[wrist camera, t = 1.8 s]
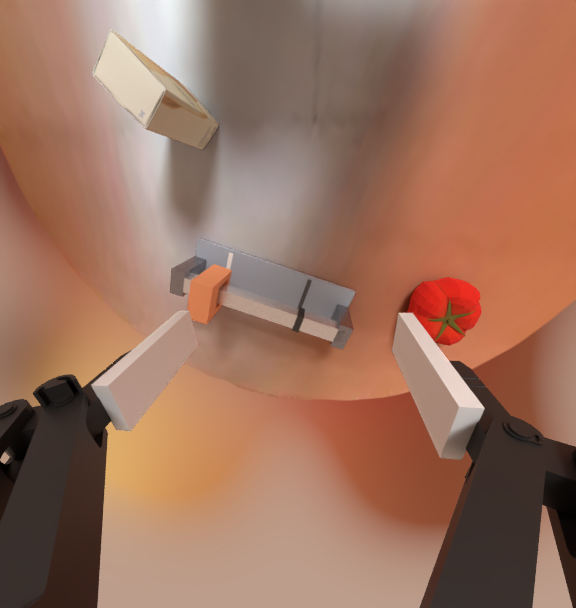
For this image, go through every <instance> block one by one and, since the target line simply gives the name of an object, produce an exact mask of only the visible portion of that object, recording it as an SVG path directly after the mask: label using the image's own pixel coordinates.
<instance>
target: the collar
mask: <svg viewBox="0 0 576 608" xmlns="http://www.w3.org/2000/svg"><path fill="white" fill-rule="evenodd" d="M231 273H232V270H230V269H227V268H224V267H221V266H218V265H215V264H214V265H212V266H211V267H209V268H208V269H207V270H205V271H204V272H202V273H201V274H199V275H198V276H197V277H195V278H194V279H192V280H191V284H190V292H189V301H188V309H187V311H189V312H190V315H191V319H192V320H195V321H198V322H201V323H204V324H208V322H209V321H210V320H211V319H212V318H213V316H214V315H215V314H216V313H217V312H218V310H219V309H220V308H221V307H222V306H223V305H220V304H217V303H216V302H217V297H218V291H219V287H220V286H221V285H222V284H223V283H224V284H227V285H229V283H230V278H231Z"/></svg>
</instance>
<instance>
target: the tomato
mask: <svg viewBox="0 0 576 608" xmlns="http://www.w3.org/2000/svg"><path fill="white" fill-rule="evenodd" d="M479 300H480V293H479V291H478V290H477V289H476V288H475V287H474V286H472V285H471V284H469V283H468V282H465V281H463V280H458V279H454V278H449V277H448V278H443V279H439V280H435V281H427V282H422V283H421V284H420V285H419V286H418V287H417V288H415V290H414V292H413V294H412V296H411V298H410V305H409V308H408V310H407V312H406V313H413V314H414V316H415V317H416V318H417V319H418V321H419V322H420V323H421V325H422V326H423V327H424V329H425V330H426V331H427V333H428V334H429V335H430V337H431V338H432V339H433V341H434V342H435V343H440V344H444V345H452V344H455V343H457V342H459V341H460V340H461V339H462V338H463V337H464V336H465V332H466V330H468V329H471V328H473V327H474V326H475V324H476V323H477V321H478V319H479V317H480V315H481V306H480V303H479Z"/></svg>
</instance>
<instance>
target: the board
mask: <svg viewBox="0 0 576 608" xmlns="http://www.w3.org/2000/svg"><path fill="white" fill-rule="evenodd" d="M195 256H197V257H200V258H203V259H206V266H205V270H207V269H208V268H209V267H211V266H212V265H214V264H215V265H218V266H221V267H224V268H227V269H230V270H232V273H231V278H230V283H229V285H230V286H233V287H236V288H239V289H242V290H245V291H248V292H251V293H254V294H257V295H260V296H263V297H266V298H269V299H272V300H275V301H278V302H281V303H284V304H287V305H290V306H293V307H296V308H299V307H301V308H304V309H305V311H308V312H311V313H314V314H317V315H320V316H323V317H326V318H329V319H331V317H332V315H333V312H334V310H335V308H336V306H337V304H339V305H342V306H345V307H349V305H350V303H351V301H352V299H353V297H354V295H355V290H352V289H349V288H346V287H343V286H340V285H337V284H334V283H331V282H328V281H325V280H322V279H319V278H316V277H313V276H310V275H307V274H305V273H302V272H299V271H296V270H293V269H290V268H287V267H284V266H281V265H278V264H275V263H272V262H269V261H266V260H263V259H260V258H257V257H254V256H251V255H248V254H246V253H243V252H240V251H237V250H234V249H231V248H228V247H225V246H222V245H219V244H216V243H213V242H210V241H207V240H204V239H201V238H199V239H197V246H196V255H195Z"/></svg>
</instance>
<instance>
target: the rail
mask: <svg viewBox="0 0 576 608" xmlns="http://www.w3.org/2000/svg"><path fill="white" fill-rule="evenodd" d="M205 266H206V259H203V258H200V257H197V256H195V257H193V258H191V259H189V260H187V261H185V262H183V263H181V264H180V265H178V266H176V267H174V268H172V270H171V284H170V293H173V294H176V295H179V296H182V297H183V296H184V295H185V294H189V292H190V284H191V280H192V279H194V278H195V277H197V276H198V275H199V274H201V273H202V272H204V271H205ZM216 303H217V304H220V305H223V306H226V307H229V308H232V309H235V310H238V311H241V312H244V313H247V314H250V315H253V316H256V317H259V318H262V319H265V320H268V321H271V322H274V323H277V324H280V325H283V326H286V327H289V328H292V330H293V331H296V332H299V331H301V332H304V333H307V334H310V335H313V336H316V337H319V338H322V339H325V340H328V341H330V345H331V346H333V347H336V348H339V349H342V350H343V348H344V346H345V344H346V343H347V341H348V339H349V337H350V335H351V333H352V331H353V325H352V321H351V317H350V313H349V309H348V307H345V306H342V305H339V304H337V306H336V308H335V310H334V312H333V315H332V317H331V319H329V318H326V317H323V316H320V315H317V314H314V313H311V312H308V311H305V309H304V308H301V307H299V308H296V307H293V306H290V305H287V304H284V303H281V302H278V301H275V300H272V299H269V298H266V297H263V296H260V295H257V294H254V293H251V292H248V291H245V290H242V289H239V288H236V287H233V286H230V285H227V284H224V283H223V284H222V285H221V286H220V287H219V291H218V297H217V302H216Z"/></svg>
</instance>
